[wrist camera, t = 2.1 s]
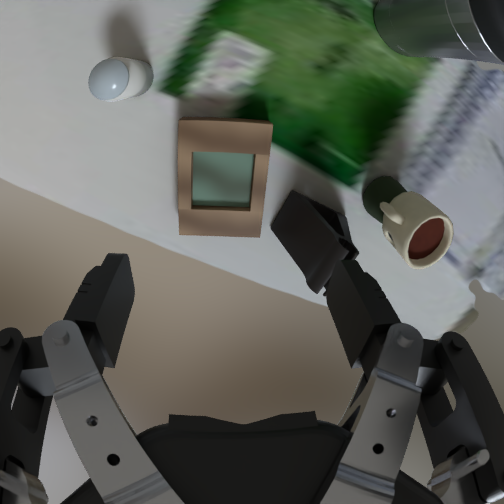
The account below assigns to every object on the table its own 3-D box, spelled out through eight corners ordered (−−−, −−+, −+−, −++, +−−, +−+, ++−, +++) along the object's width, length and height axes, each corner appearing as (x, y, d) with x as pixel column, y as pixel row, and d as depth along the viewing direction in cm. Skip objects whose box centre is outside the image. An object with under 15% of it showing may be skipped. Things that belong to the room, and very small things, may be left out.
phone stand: (345, 216, 39) (381, 266, 29) (323, 249, 42) (350, 305, 32) (291, 189, 37) (317, 236, 27) (269, 226, 39) (285, 283, 29)
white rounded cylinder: (117, 62, 25) (86, 59, 18) (154, 58, 26) (132, 52, 19) (116, 98, 28) (85, 105, 21) (152, 95, 28) (130, 101, 21)
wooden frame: (182, 116, 30) (178, 120, 28) (269, 120, 31) (273, 124, 29) (182, 222, 38) (179, 234, 35) (257, 225, 39) (259, 237, 36)
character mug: (338, 199, 38) (380, 252, 27) (365, 155, 35) (420, 194, 24) (391, 228, 41) (436, 281, 30) (416, 191, 38) (469, 235, 27)
